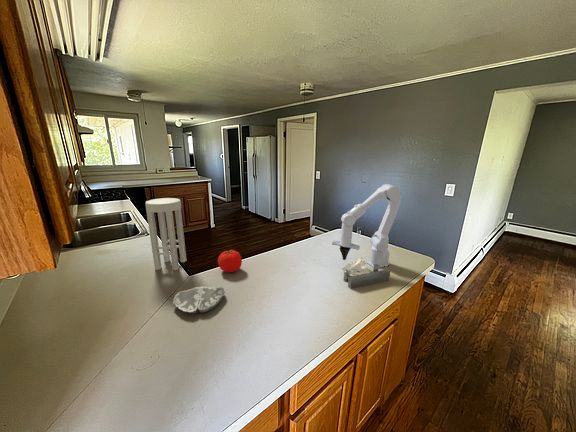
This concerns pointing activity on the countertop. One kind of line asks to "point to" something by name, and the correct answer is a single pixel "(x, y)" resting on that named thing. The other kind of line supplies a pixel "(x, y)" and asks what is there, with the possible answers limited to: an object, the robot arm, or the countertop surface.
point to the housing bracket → (366, 277)
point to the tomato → (230, 261)
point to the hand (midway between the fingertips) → (344, 259)
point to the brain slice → (198, 299)
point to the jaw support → (357, 267)
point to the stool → (167, 207)
